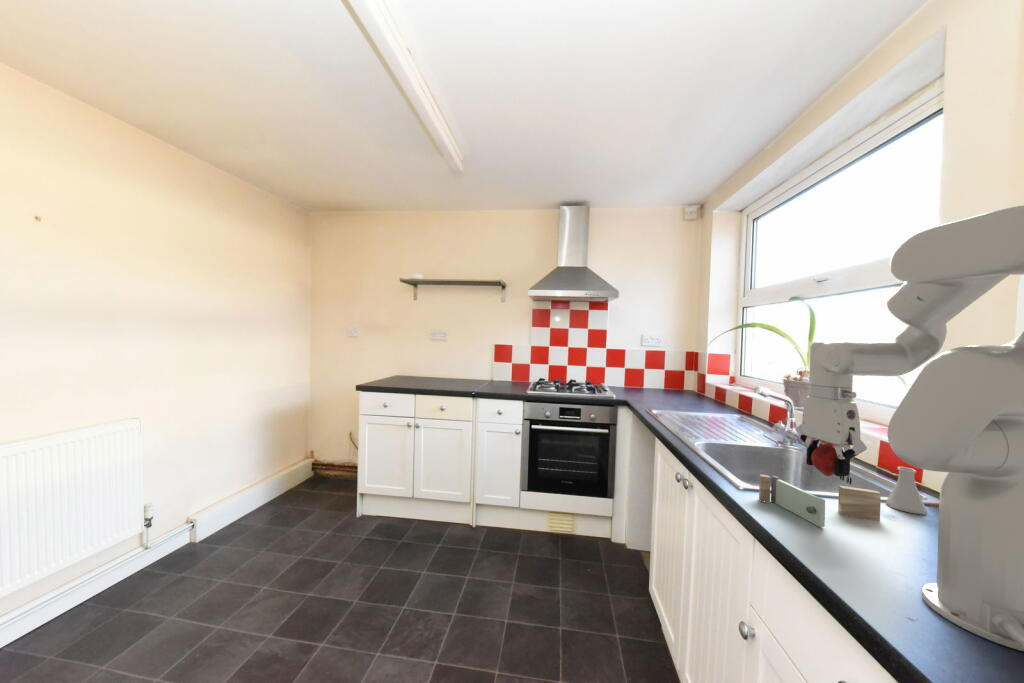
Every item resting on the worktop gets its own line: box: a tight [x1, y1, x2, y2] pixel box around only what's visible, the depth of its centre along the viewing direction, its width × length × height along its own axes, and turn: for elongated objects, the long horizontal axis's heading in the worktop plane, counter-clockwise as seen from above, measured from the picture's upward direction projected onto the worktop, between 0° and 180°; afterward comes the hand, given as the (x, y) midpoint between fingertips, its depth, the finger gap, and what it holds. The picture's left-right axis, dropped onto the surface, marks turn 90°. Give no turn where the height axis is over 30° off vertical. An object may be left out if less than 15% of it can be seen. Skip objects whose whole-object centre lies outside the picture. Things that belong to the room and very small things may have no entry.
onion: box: [811, 442, 838, 477], centre depth 83 cm, size 6×6×8 cm
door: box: [770, 475, 826, 528], centre depth 85 cm, size 2×13×6 cm, turn 7°
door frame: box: [758, 474, 882, 522], centre depth 87 cm, size 2×23×6 cm, turn 67°
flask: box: [884, 466, 928, 516], centre depth 89 cm, size 7×7×10 cm
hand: (826, 469), depth 83 cm, fingers closed on onion, 5 cm apart
